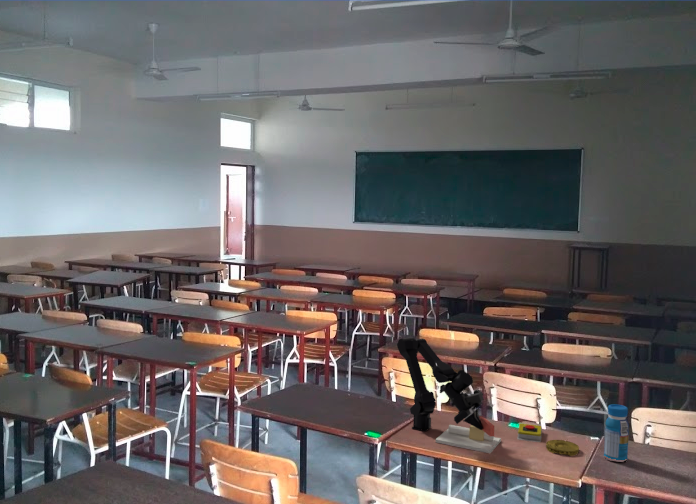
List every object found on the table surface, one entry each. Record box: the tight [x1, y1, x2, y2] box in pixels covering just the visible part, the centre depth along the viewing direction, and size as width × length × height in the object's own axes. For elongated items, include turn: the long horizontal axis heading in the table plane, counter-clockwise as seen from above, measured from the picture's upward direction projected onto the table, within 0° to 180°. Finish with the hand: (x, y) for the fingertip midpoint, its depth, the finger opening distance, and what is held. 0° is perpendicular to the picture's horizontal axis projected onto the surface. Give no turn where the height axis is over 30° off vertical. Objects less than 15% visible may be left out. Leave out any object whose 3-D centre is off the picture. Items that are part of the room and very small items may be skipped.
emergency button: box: [516, 423, 543, 443], centre depth 259 cm, size 9×4×15 cm
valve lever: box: [478, 413, 495, 437], centre depth 244 cm, size 14×2×4 cm, turn 11°
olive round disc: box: [545, 439, 580, 457], centre depth 243 cm, size 12×12×2 cm
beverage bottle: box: [603, 403, 630, 460], centre depth 234 cm, size 8×8×20 cm
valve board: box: [435, 424, 502, 454], centre depth 249 cm, size 22×15×6 cm
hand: (482, 429), depth 243 cm, fingers closed
